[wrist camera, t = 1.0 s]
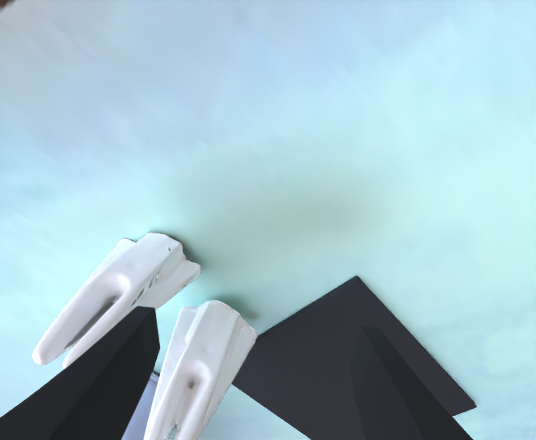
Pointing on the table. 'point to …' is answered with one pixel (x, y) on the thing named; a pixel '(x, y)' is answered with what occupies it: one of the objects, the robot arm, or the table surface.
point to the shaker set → (183, 338)
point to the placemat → (332, 364)
